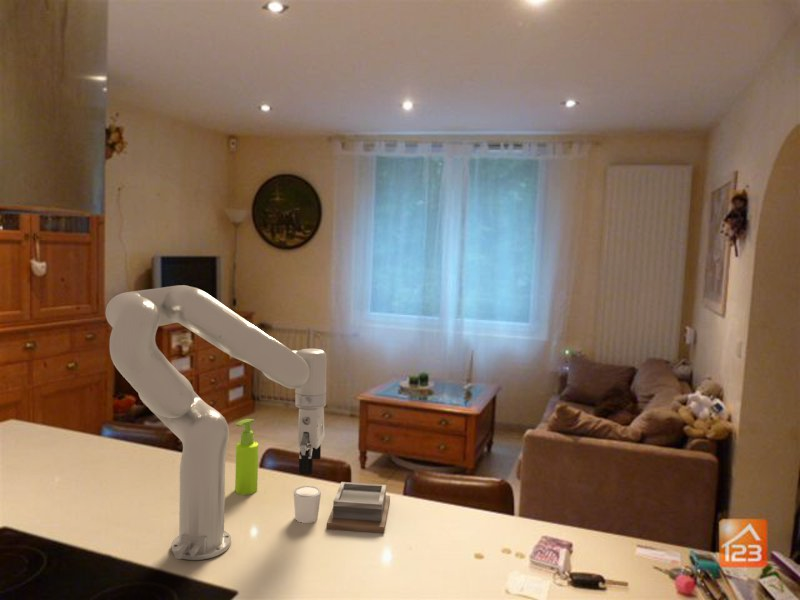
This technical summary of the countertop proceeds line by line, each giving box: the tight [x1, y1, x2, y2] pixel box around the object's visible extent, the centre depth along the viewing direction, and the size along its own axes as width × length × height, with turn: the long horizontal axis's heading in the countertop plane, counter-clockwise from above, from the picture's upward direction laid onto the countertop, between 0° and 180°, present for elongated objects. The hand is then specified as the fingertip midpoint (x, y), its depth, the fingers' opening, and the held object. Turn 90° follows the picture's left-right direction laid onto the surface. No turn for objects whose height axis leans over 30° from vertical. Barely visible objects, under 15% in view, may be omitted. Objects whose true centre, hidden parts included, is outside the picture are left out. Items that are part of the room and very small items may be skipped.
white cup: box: [293, 485, 322, 524], centre depth 147 cm, size 7×7×7 cm
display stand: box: [326, 481, 391, 534], centre depth 150 cm, size 18×14×6 cm
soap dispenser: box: [234, 418, 259, 496], centre depth 161 cm, size 6×7×20 cm
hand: (310, 466), depth 147 cm, fingers open, 9 cm apart
